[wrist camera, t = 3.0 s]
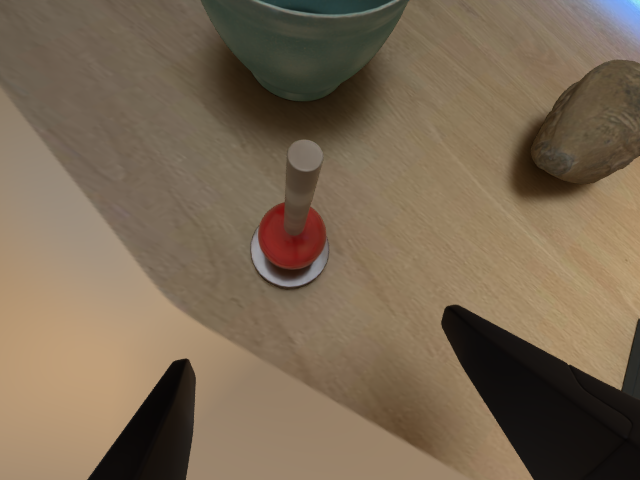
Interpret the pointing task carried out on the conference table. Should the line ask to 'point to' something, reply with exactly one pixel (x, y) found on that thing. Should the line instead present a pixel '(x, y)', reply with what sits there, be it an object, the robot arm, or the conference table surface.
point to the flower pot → (304, 40)
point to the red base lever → (293, 225)
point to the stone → (592, 125)
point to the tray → (633, 368)
